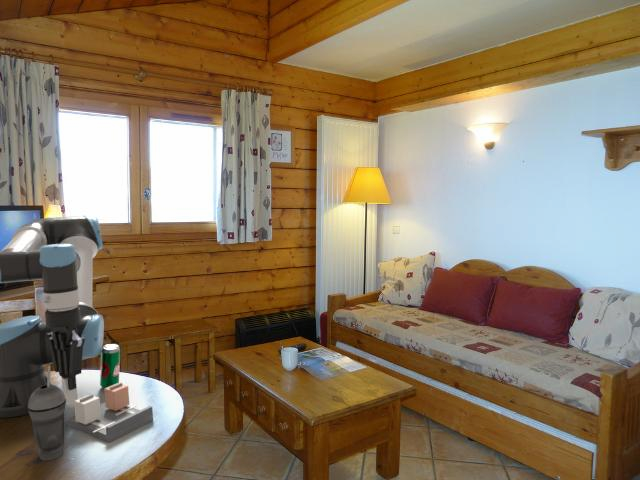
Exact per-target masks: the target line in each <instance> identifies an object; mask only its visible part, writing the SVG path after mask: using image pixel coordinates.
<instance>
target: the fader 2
mask: <svg viewBox="0 0 640 480" xmlns="http://www.w3.org/2000/svg"><path fill="white" fill-rule="evenodd" d="M103 389H104V400H105V402H104V403H106V408H109V409H111V410H114V411H117V410H119V409H121V408H123V407H125V406H130V397H129V396H130V395H129V385H126V384H123V382H119V383H117V384H114V385H112V386H109V387H107V388H103Z"/></svg>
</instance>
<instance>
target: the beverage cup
mask: <svg viewBox="0 0 640 480" xmlns="http://www.w3.org/2000/svg"><path fill="white" fill-rule="evenodd" d="M50 382H51V365H47V385H43V386H41V387H39V388H37V389H36V390H35V391H34V392H33V393H32V394H31V396H30V399H29V402H28V411H29V417H30V419H31V423H32V429H33V432H34V438H35V442H36V446H37V452H38V454H39V459H40V460H41V461H44V462H46V461H47V462H48V461H52V460H56V459H58V458H60V457H62V456H63V454H64V449H65V448H64V447H65V410H66V403H65V402H66V398H65V395H64V393H63V390H62V389H61V388H60V387H59V386H57V385H54V384H52V385H50Z"/></svg>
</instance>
